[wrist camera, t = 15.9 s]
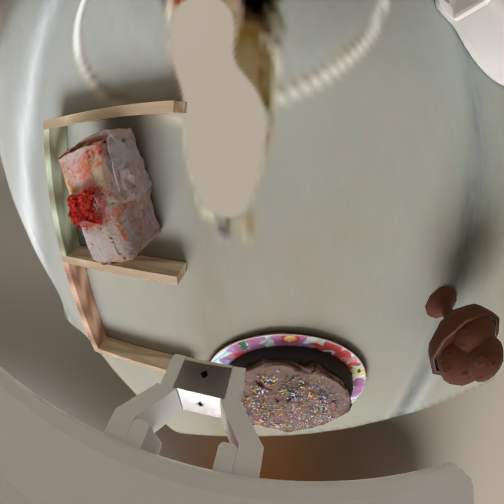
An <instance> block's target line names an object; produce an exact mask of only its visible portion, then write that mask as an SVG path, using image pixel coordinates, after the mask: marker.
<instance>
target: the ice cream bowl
mask: <svg viewBox="0 0 504 504" xmlns="http://www.w3.org/2000/svg"><path fill="white" fill-rule="evenodd" d="M456 300H457V298H456V292H455V289H453V288H451V287H449V286H447V287H443V288H440V289H438V290H437V291H436V292H435V293H433V294H432V295H431V296H430V297H429V300H428V302H427V304H426V311H427V314H428V315H429V316H431V317H434V318H439V317H442V316H443V317H444V319H443V320H442V321H441V322H440V324H439V326H438V327H437V329H436V331H435V333H434V335H433V337H432V339H431V341H430V343H429V351H428V352H429V358H430V363H431V368H432V372H433V374H437V375H441V376H442V377H443V379H444V380H445V381H446V382H448V383H449V384H454V385H461V386H463V385H466V384H469V383H471V382H473V381H477V382H484V381H487V380H489V379H490V378H492V377H493V376H495V374H496V373H497V372H498V370H499V369H500V367H501V365H502V362H503V347H502V344H501V342H500V341H499V340H498V339H497V338H496V337H497V335H498V331H499V317H498V316H497V315H496V314H494V313H493V312H492V311H490V310H488V309H486V308H484V307H482V306H480V305H477V304H471V305H466V306H464V307H461V308H458V309H455V310H453V307H454V305H455V303H456Z"/></svg>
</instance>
